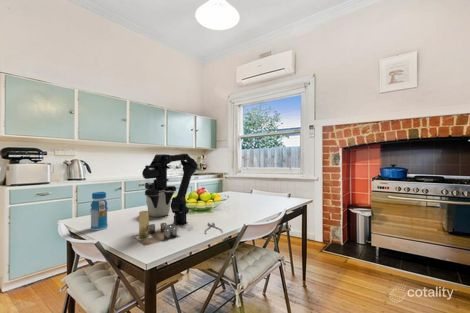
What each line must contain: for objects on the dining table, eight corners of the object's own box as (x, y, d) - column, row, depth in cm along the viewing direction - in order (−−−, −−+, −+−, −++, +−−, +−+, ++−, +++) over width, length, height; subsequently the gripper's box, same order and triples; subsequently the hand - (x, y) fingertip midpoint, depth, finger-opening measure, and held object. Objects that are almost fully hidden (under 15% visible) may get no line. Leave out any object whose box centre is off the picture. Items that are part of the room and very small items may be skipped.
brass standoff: (148, 234, 115) (148, 210, 115) (149, 237, 111) (149, 212, 111) (138, 236, 113) (138, 211, 113) (139, 239, 109) (139, 213, 109)
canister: (176, 212, 167) (176, 183, 167) (166, 218, 149) (166, 186, 149) (152, 211, 169) (152, 182, 169) (139, 218, 151) (139, 185, 151)
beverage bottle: (87, 231, 125) (87, 194, 125) (94, 226, 134) (93, 191, 134) (104, 230, 127) (104, 193, 127) (109, 225, 135) (109, 191, 135)
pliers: (206, 234, 118) (197, 223, 136) (206, 236, 118) (197, 225, 136) (224, 231, 121) (213, 221, 140) (224, 233, 121) (213, 223, 140)
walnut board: (166, 230, 126) (166, 228, 126) (180, 238, 113) (180, 236, 113) (132, 237, 114) (132, 235, 114) (143, 247, 101) (143, 245, 101)
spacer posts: (164, 229, 125) (164, 221, 125) (178, 236, 112) (178, 228, 112) (147, 232, 119) (147, 224, 119) (160, 241, 107) (160, 232, 107)
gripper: (161, 175, 137) (161, 202, 137) (136, 178, 120) (136, 208, 120) (176, 176, 133) (176, 203, 133) (153, 179, 116) (153, 210, 116)
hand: (161, 206), depth 126 cm, fingers open, 9 cm apart
